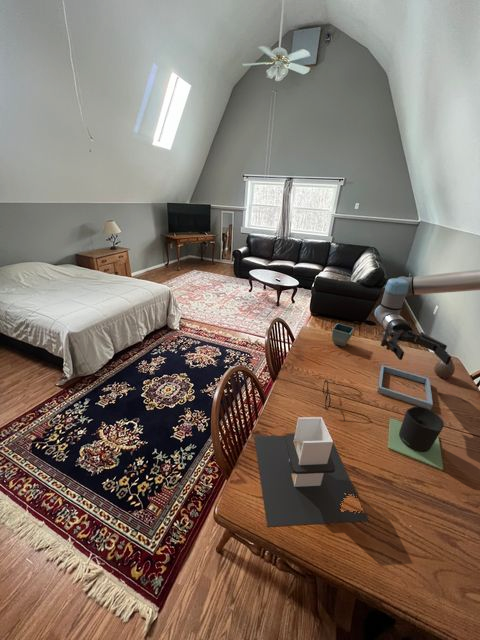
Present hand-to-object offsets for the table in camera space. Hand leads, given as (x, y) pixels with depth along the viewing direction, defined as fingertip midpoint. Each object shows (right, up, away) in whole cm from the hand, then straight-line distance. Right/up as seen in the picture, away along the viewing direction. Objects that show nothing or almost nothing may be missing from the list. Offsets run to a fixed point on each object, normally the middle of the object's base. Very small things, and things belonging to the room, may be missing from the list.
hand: (425, 358), depth 82 cm
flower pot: (-5, -1, +57) cm, 57 cm away
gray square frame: (+9, -16, +26) cm, 32 cm away
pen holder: (-2, -26, +2) cm, 26 cm away
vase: (+32, -13, +35) cm, 49 cm away
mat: (-2, -27, +2) cm, 27 cm away
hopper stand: (-39, -30, -9) cm, 51 cm away
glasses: (-18, -19, +17) cm, 31 cm away
